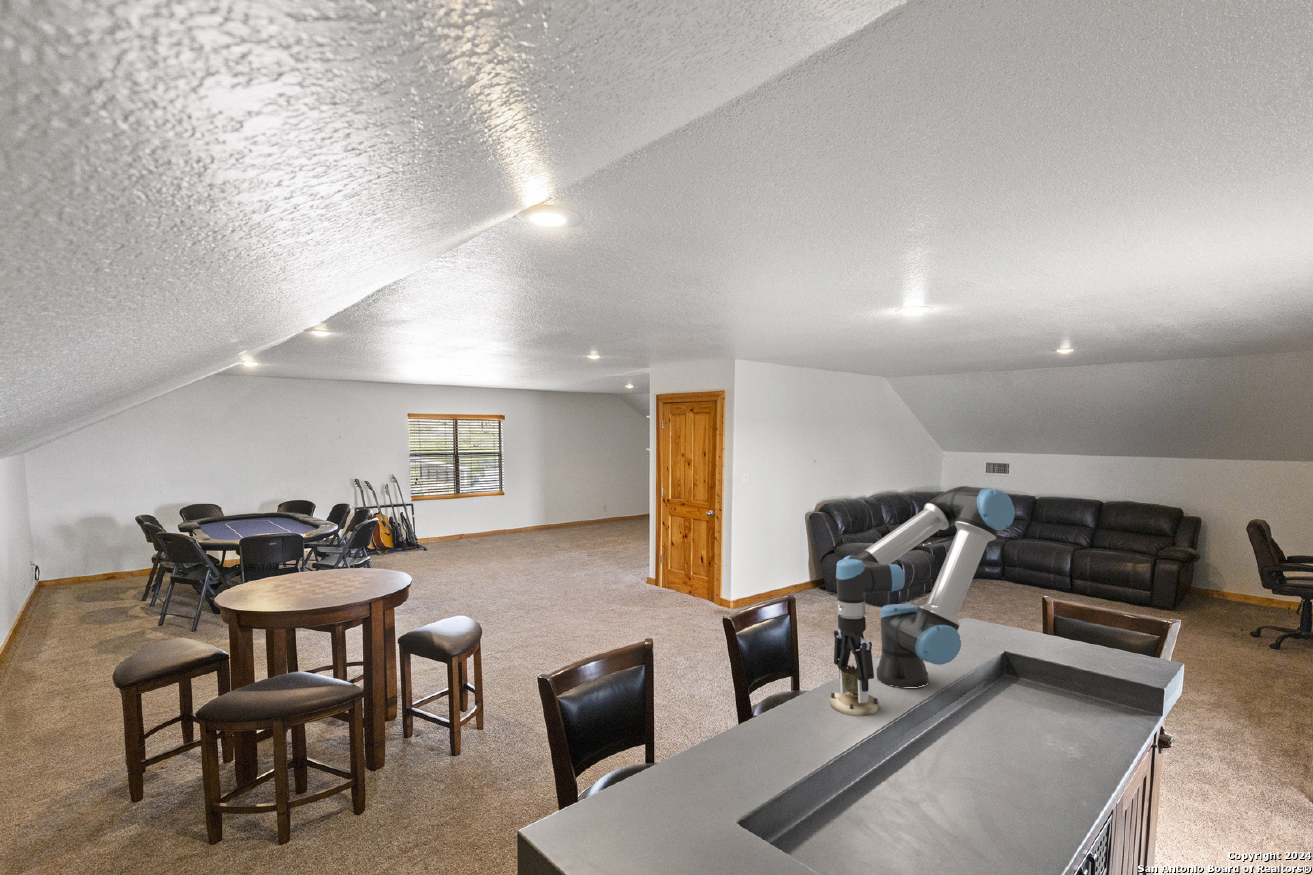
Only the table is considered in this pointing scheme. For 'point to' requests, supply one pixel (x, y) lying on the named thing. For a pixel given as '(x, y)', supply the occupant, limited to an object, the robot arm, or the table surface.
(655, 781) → the table surface
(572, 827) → the table surface
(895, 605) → the robot arm
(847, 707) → the seat plate
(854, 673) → the ornate scalloped bell shade
